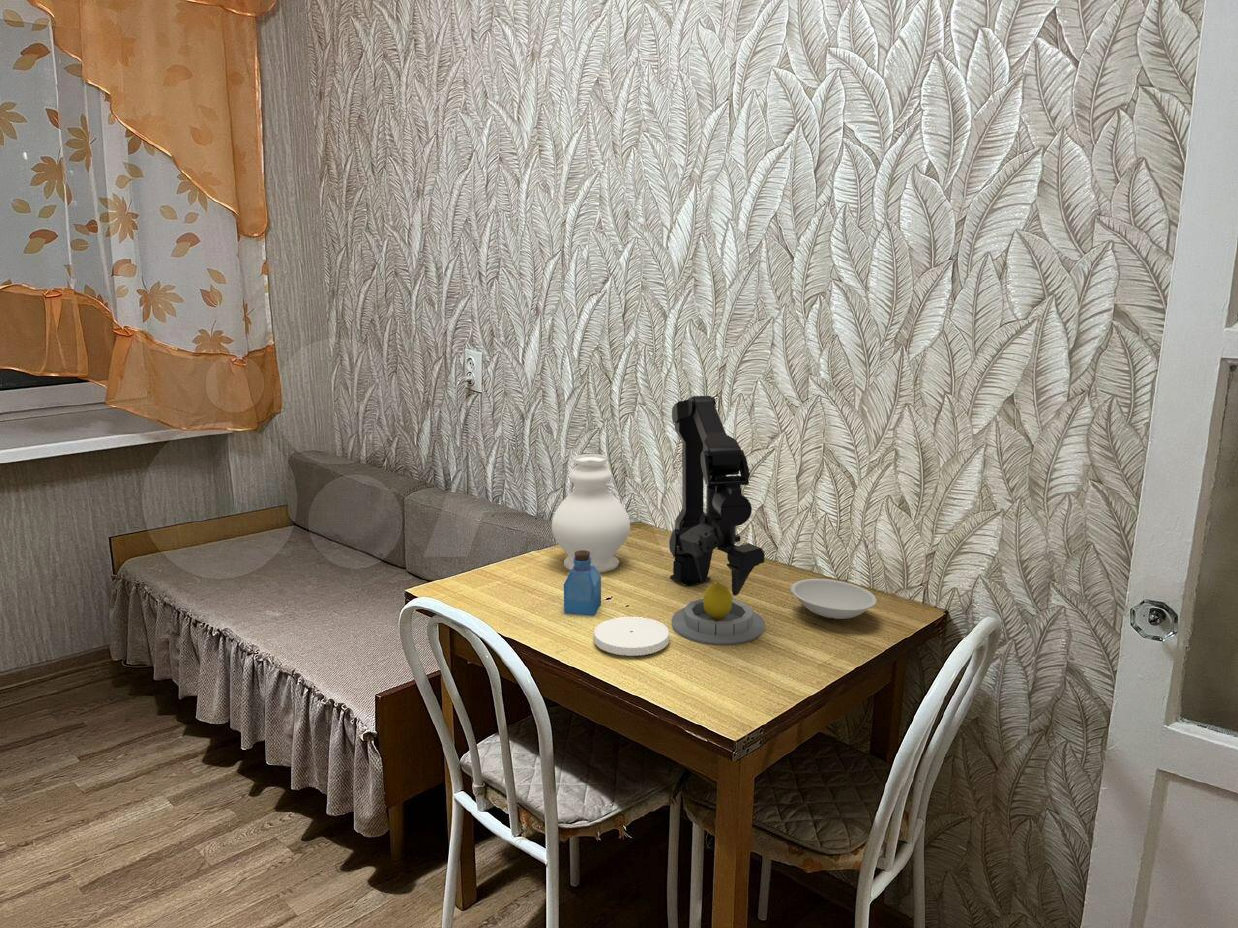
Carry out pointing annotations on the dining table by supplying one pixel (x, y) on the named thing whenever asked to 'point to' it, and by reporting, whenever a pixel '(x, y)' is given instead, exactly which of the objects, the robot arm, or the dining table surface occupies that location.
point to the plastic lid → (631, 636)
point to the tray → (718, 639)
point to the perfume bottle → (582, 587)
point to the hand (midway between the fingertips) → (719, 587)
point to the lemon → (717, 601)
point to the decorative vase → (591, 516)
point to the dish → (833, 598)
